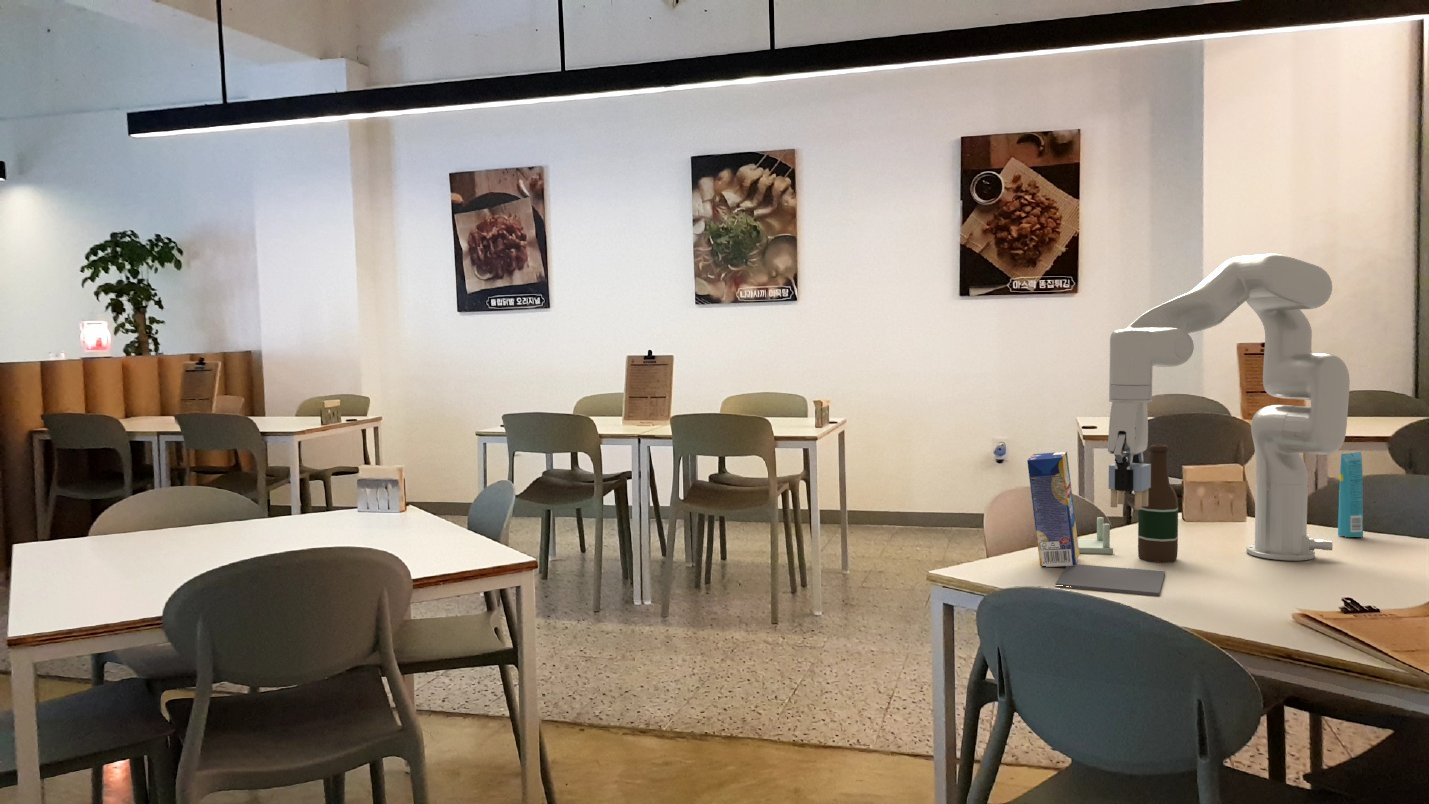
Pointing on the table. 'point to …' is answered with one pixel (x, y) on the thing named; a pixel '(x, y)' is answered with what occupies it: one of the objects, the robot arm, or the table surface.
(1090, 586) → the charcoal mat
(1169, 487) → the beer bottle
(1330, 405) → the robot arm
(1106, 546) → the mint twin-peg base
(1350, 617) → the table surface
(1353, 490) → the teal carton
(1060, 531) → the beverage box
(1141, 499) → the slate-blue stool
